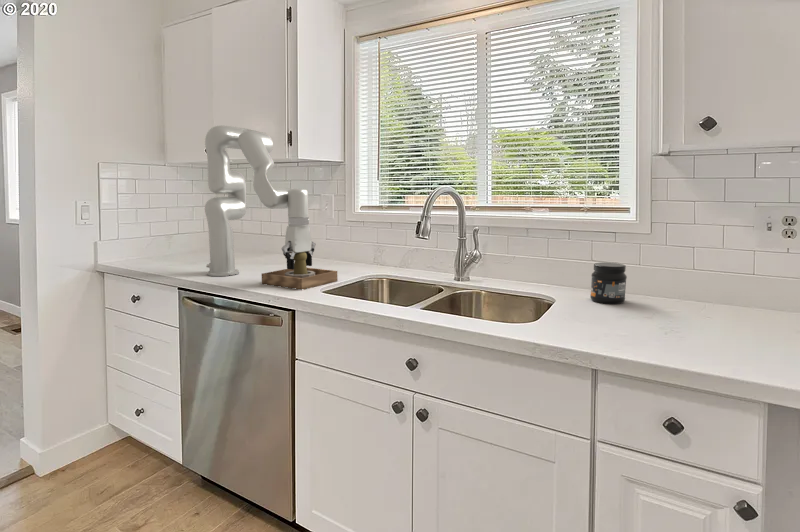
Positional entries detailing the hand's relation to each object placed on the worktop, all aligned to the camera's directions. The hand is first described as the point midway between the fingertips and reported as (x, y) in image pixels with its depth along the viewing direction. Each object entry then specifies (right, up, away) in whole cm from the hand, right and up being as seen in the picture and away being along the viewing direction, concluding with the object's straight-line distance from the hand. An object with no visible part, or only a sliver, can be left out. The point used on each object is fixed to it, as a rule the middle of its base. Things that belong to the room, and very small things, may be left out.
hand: (299, 267), depth 197 cm
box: (0, -6, +1) cm, 6 cm away
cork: (0, -5, +1) cm, 5 cm away
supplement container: (+105, -11, -29) cm, 109 cm away
